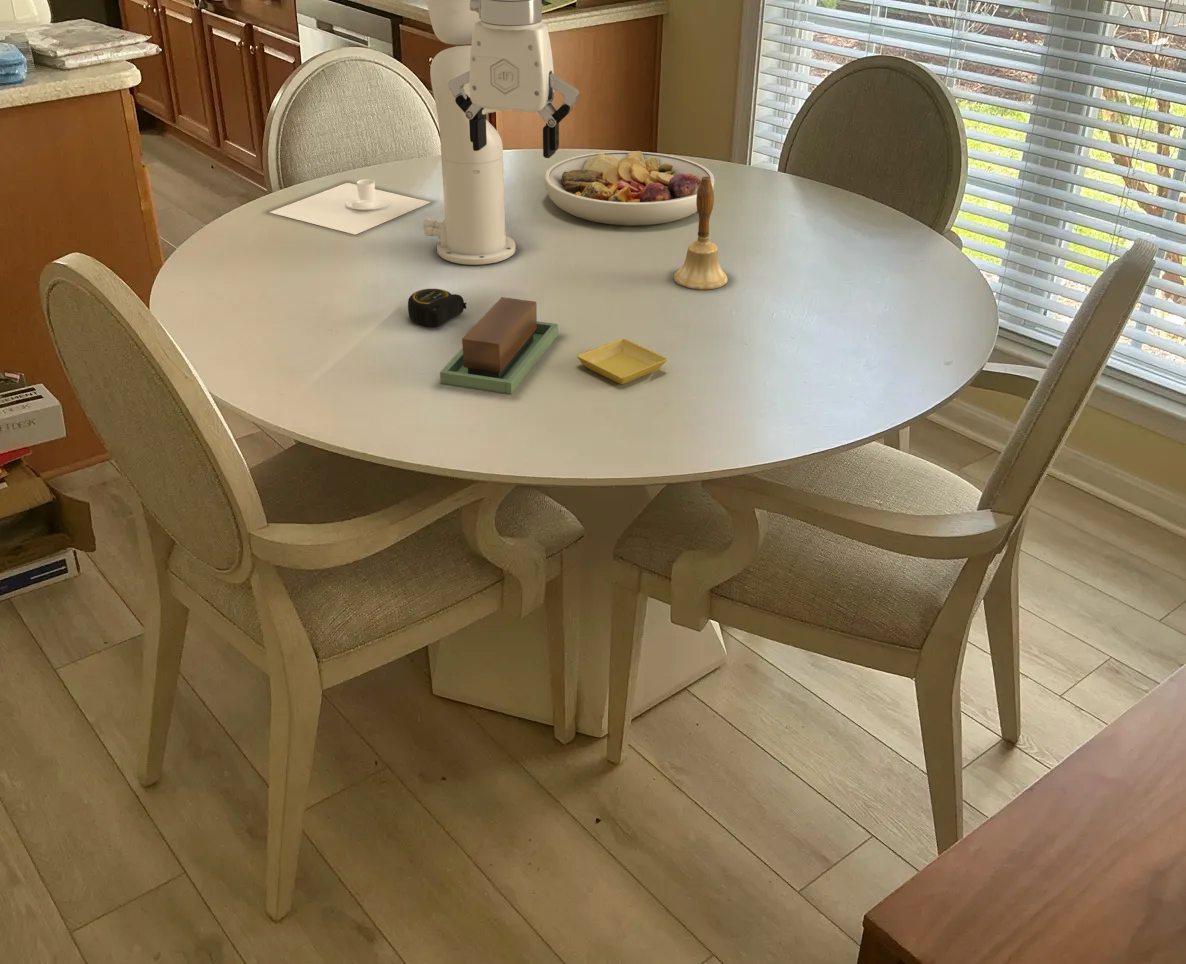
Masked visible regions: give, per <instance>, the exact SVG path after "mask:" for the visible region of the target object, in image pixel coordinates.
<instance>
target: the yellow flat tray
mask: <svg viewBox="0 0 1186 964" xmlns="http://www.w3.org/2000/svg"><path fill="white" fill-rule="evenodd" d="M576 357H577V359H578V360H579V362H581V364H582V365H583V366H584V367H586V368H587V369H588V370H590V371H592V372H594V373H596V374H599V375H601V376H602V377H605V378H607V379H609V380H611V381H613V382H615V383H617V384H620V385H624V384H627V383H629V382H631V381H632V382H633V381H634V380H637V379H639V378H641V377H644V376H646V375H648V374H653V373H655V372H657V371H658V370H659V369H660V368H661V367H662V366H664V365H665V363H667V361H668V357H666V356H664V355H662V354H660V353H657V352H655V351H653V350H651V349H649V348H646V347H644V346H642V345H640V344H638V343H636V342H634V341H632V340H630V339H627V338H618V339H615V340H613V341H610V342H608V343H606V344H603V345H600V346H598V347H595V348H592V349H590V350H586V351H584V352H582V353H579V354H577V356H576Z"/></svg>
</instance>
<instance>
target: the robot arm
mask: <svg viewBox="0 0 1186 964" xmlns="http://www.w3.org/2000/svg"><path fill="white" fill-rule="evenodd" d="M542 1H543V0H426V5H427V10H428V16H429V21H430V24H431V27H432V28H431V29H432V30H433V33H434V35H435V36H436V38H437V39H438V40H439V41H440V42H442V43H444V44H449V45H457V46H452V47H448V48H445V49H443V50H441V51H440V52H438V53H437V54H436V55H435V56H434V57H433V59H432V61H431V64H430V69H429V73H430V84H431V90H432V94H433V98H434V103H435V108H436V115H437V120H438V128H439V129H438V130H439V141H440V157H441V171H442V172H441V173H442V175H441V176H442V191H443V206H444V207H443V209H444V219H443V220H442V221H438V220H434V219H425V220H424V222H423V231H424V235H425V236H426V237H437V238H438V239H439V241H438V243H437V245H436V250H437V251H436V252H437V255H438V256H439V257H440V258H441V259H443V260H445V261H447V262H451V263H455V264H460V265H470V266H478V265H479V266H480V265H489V264H490V265H491V264H494V263H499V262H502V261H505V260H507V259H509V258H511V257H512V256H513V255H514V254H515V253H516V242H515V240H514V239H513V238H511V237H510V236H508V235H506V210H505V209H506V207H505V206H506V205H505V177H504V175H505V172H504V145H503V141H502V138H501V136H500V133H499V132H498V130H497V129H496V128H495V127H494V126H493V125H492V124H491V123H490V122H489V121H488V120H487V116H485V115H486V114H492V113H496V112H497V113H498V112H510V111H511V112H523V113H538V114H539V116H540V117H541V118H542V119H543V121H544V122H545V125H544V126H543V127H542V157H544V159H550V158H551V157H553V156H554V155H555V154H556V151H558V150H559V148H560V123H561V122H562V121H563V119H565V118H566V117H567V116H568V115H569V114H570V113H571V112H572V111H573V107H574V106H575V104H576V103H577V100H578V98H579V96H580V90H579V89H578V88H576V87H575V86H573V85H572V84H570V83H568V82H567V81H566V80H565V79H562V78H561V77H559V76H558V75H557V74H555V72H554V60H553V52H552V47H551V46H552V44H551V38H550V34H549V30H548V25H547V23H544V22H543V13H542V12H543V11H542V10H543V9H542V8H543V7H542ZM555 91H556V92H557V93H559V94H560V95H562V96H563V99H564V100H563V101H562V104H561V106H560V107H557V106H556V105H555V104H554V102H553V101H554V98H555Z"/></svg>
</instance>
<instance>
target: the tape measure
mask: <svg viewBox="0 0 1186 964" xmlns="http://www.w3.org/2000/svg"><path fill="white" fill-rule="evenodd" d="M464 310H467V302H465V300H464V298H463V296H462V295H460V294H458V293H457V294H455V293H451V292H449V291H447V290H445V289H440V288H423V289H420V290H417V291H415V292H413V293H412V294H411V295H410V296H409V297H408V299H407V311H408V312H407V313H408V317H409V319H410V321H412V322H413V323H415V324H417V325H420V326H427V327H433V328H434V327H435V328H436V327H440V326H442V325H443V324H445V323H447V322H448V321H450V320H452V319H454V318H456V317H457V316H459V315H461V314H463V312H464Z"/></svg>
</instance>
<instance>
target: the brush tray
mask: <svg viewBox="0 0 1186 964" xmlns="http://www.w3.org/2000/svg"><path fill="white" fill-rule="evenodd" d="M558 335H559V324H558V323H553V322H544V321H538V320H537V329H536V330H535V332H534V333H533V341H532V342H531V343H530V344H529V345H528V347H527V348H526V349H525V350H524V352H523V353H522V354H521V355H520V356H519V358H518V359H517V360H516V361H515V362H514V364H513V365H512V366H511V367H510V369H509V370H508V371H507V372H506V373H505V375H504V376H503V377H502V378H501V379H499V378H493V377H486V376H479V375H473V374H468V368H465V367H464V364H463V347H462V348H461V349H460V350H459V351H458V352H457V353H456V354H455V356H453V358H452V359H451V360H450V361H449V362H448V363H447V364H446V365H445V366H444V367H443V368H442V369H441V371H440V372H439V377H440V379H439V381H440V384H441V385H443V384H444V385H450V386H455V387H462V388H469V389H475V390H482V391H488V392H493V393H494V392H495V393H501V394H507V395H512V394H513V393H514V392H515V391H516V389H517V388H518V387H519V386H520V384H521V383H522V382H523V380H524V379H525V378H526V376H527V375H528V374H529V372H530V371H531V370H532V369H533V368H534V367H535V365H536V364H537V362H538V361H539V360H540V359H541V357H542V356H543V355H544V353H545V352H546V351H547V350H548V349H549V348H550V346H551V344H552V343H553V342H554V340H555V339H556V338H557V337H558Z"/></svg>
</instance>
